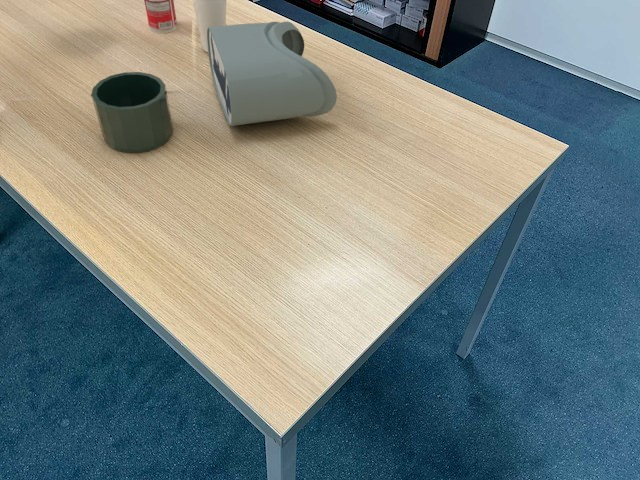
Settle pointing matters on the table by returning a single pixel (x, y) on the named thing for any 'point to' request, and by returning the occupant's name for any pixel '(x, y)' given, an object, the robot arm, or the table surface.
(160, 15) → the pill bottle
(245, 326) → the table surface
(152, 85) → the pot
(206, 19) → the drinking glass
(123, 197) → the table surface
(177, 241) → the table surface
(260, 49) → the gray curved housing
